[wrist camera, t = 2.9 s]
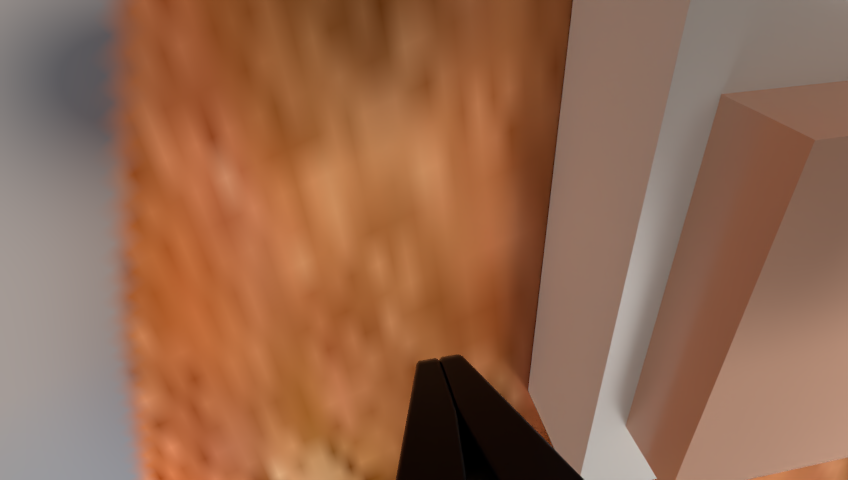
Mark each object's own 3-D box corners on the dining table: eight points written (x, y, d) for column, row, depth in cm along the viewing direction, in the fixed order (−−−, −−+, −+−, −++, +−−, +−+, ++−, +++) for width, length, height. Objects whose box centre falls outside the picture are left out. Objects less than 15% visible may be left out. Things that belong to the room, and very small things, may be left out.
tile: (822, 387, 15) (886, 448, 13) (625, 425, 14) (668, 497, 12) (1012, 63, 10) (1155, 97, 8) (721, 94, 9) (815, 139, 7)
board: (821, 336, 20) (920, 421, 17) (527, 390, 19) (575, 495, 16) (1077, -138, 12) (1366, -147, 9) (586, -115, 10) (717, -116, 7)
